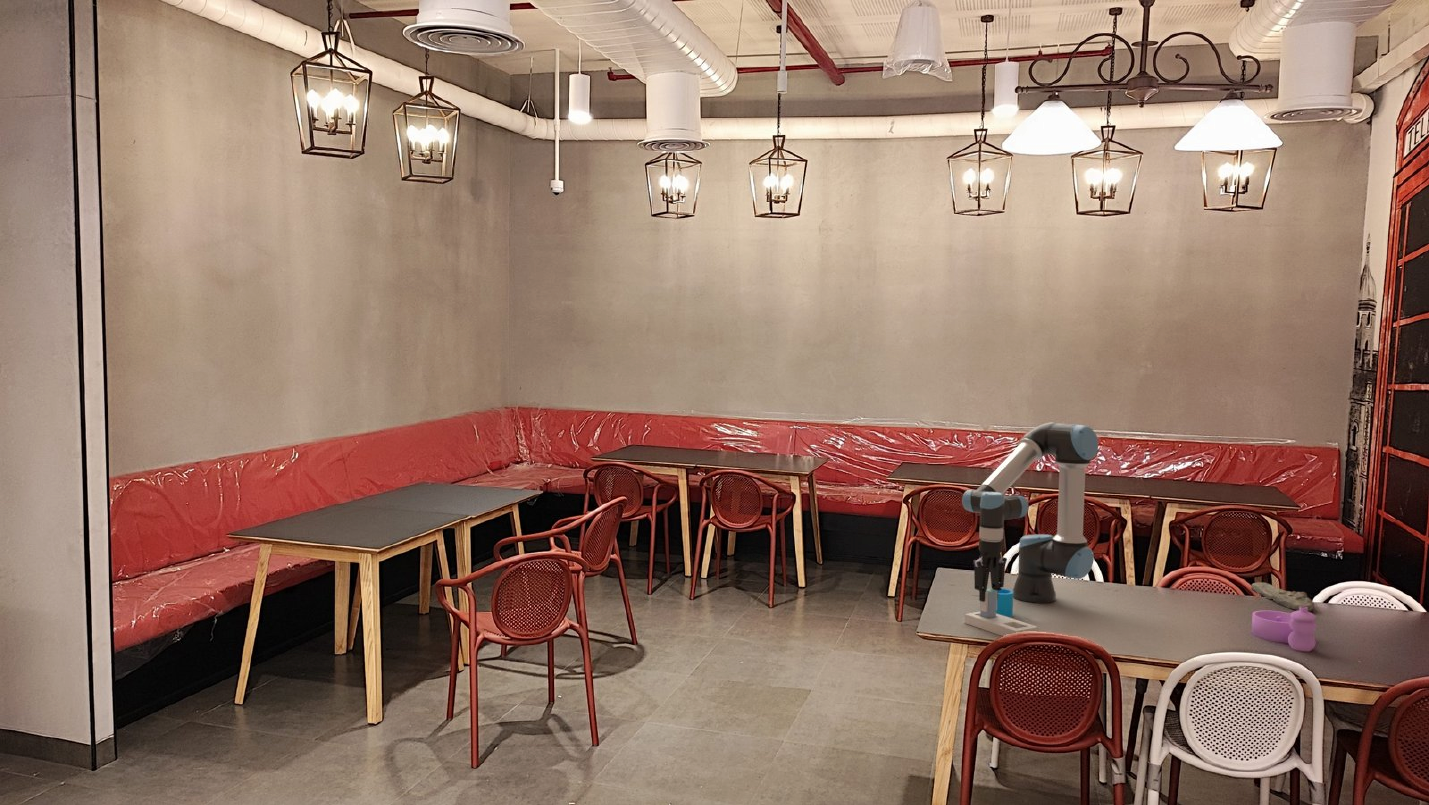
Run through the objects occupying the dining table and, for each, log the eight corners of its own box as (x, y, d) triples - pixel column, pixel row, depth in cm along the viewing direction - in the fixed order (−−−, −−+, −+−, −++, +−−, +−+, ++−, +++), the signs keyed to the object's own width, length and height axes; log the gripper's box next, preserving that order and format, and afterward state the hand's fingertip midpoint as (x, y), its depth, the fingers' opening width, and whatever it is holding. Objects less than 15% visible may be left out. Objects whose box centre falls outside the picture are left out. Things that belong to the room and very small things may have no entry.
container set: (1242, 629, 337) (1244, 589, 336) (1289, 630, 337) (1291, 590, 336) (1282, 652, 312) (1284, 610, 311) (1333, 653, 312) (1335, 611, 311)
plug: (987, 623, 338) (988, 588, 337) (995, 625, 335) (996, 590, 334) (980, 624, 336) (981, 589, 335) (987, 627, 333) (989, 591, 332)
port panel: (964, 623, 338) (964, 613, 337) (986, 619, 343) (986, 609, 343) (1015, 640, 319) (1016, 630, 319) (1037, 636, 324) (1038, 626, 324)
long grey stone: (1269, 592, 393) (1243, 593, 393) (1269, 579, 393) (1243, 579, 393) (1323, 612, 358) (1294, 613, 358) (1322, 597, 358) (1294, 598, 358)
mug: (1011, 619, 344) (1012, 595, 343) (986, 616, 346) (987, 592, 346) (1013, 610, 355) (1014, 587, 354) (989, 607, 358) (990, 584, 357)
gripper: (1000, 535, 341) (997, 604, 343) (964, 539, 333) (961, 610, 334) (1017, 539, 335) (1014, 609, 336) (981, 544, 326) (978, 616, 328)
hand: (988, 609), depth 335 cm, fingers closed on plug, 3 cm apart
